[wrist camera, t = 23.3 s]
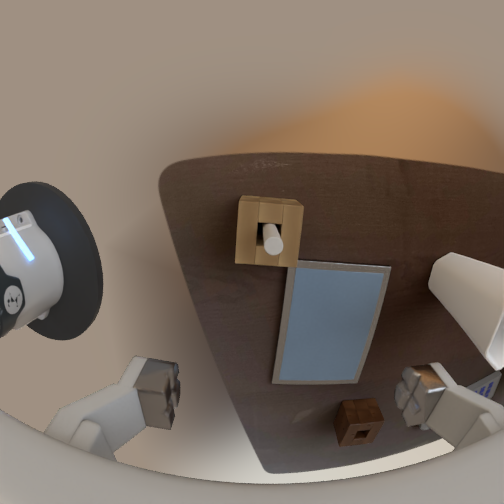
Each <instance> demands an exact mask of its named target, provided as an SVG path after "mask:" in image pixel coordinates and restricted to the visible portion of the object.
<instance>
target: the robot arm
mask: <svg viewBox="0 0 504 504" xmlns="http://www.w3.org/2000/svg"><path fill="white" fill-rule="evenodd" d="M63 285H64V277H63V269H62V265H61V261H60V258H59V255H58V253H57V251H56V249H55V247H54V245H53V243H52V242H51V240H50V239H49V237H48V236H47V235H46V234H45V233H44V232H43V231H42V230H41V229H40V228H39V227H38V225H37V223H36V221H35V219H34V217H33V215H32V213H31V212H30V211H29V210H25V211H22V212H19V213H17V214H14V215H11V216H8V217H5V218H3V219H0V338H1V337H3V336H5V335H6V334H7V333H8V332H9V331H10V330H11V329H15V330H19V329H21V328H22V327H24V326H25V325H27V324H28V323H30V322H32V321H33V320H35V319H36V318H38V319H41V320H43V319H45V318H46V317H47V316H48V314H49V310H50V308H51V307H52V306H53V305H55V304H56V303H57V302H58V301H59V299H60V297H61V295H62V292H63ZM178 373H179V369H178V364H177V363H174V362H169V361H162V360H157V359H152V358H145V357H140V356H134V357H133V358H132V360H131V361H130V363H129V365H128V366H127V368H126V370H125V371H124V373H123V375H122V377H121V378H120V380H119V382H118V384H112V385H109V386H108V387H105V388H103V389H101V390H99V391H97V392H95V393H93V394H90V395H88V396H86V397H84V398H82V399H80V400H78V401H76V402H74V403H71V404H69V405H67V406H64V407H62V408H60V409H59V410H58V412H57V413H56V415H55V416H54V418H53V419H52V421H51V422H50V424H49V425H48V427H47V428H46V430H45V431H44V433H42V432H40V431H38V430H36V429H34V428H32V427H30V426H29V425H26V424H25V423H23V422H21V421H19V420H18V419H16V418H14V417H12V416H11V415H9V414H7V413H5V412H4V411H2V410H1V409H0V504H504V408H503V406H502V405H500V404H498V403H496V402H494V401H492V400H490V399H488V398H486V397H484V396H482V395H480V394H477V393H475V392H473V391H471V390H469V389H467V388H465V387H463V386H461V385H459V386H458V385H457V384H456V383H455V382H454V380H453V379H452V378H451V376H450V375H449V374H448V373H447V371H446V370H445V369H444V368H443V366H442V365H441V364H440V363H438V362H436V363H430V364H425V365H418V366H410V367H406V368H405V369H404V370H403V373H402V375H401V376H402V380H401V381H400V382H399V383H398V384H397V386H396V389H395V392H394V400H395V403H396V405H397V407H398V408H400V409H401V410H403V411H402V414H401V415H402V417H403V419H404V421H405V423H406V425H407V427H408V426H413V425H418V424H423V423H425V425H427V426H428V427H429V428H430V429H432V430H433V431H434V432H435V433H437V434H438V435H439V436H441V437H442V438H443V439H444V440H446V441H447V442H448V443H450V444H451V445H452V446H454V447H455V449H454V450H453V451H452V452H450V453H447V454H444V455H441V456H438V457H435V458H432V459H430V460H426V461H423V462H420V463H416V464H413V465H409V466H406V467H401V468H398V469H393V470H389V471H385V472H380V473H375V474H370V475H365V476H359V477H353V478H346V479H340V480H331V481H321V482H310V483H292V484H251V483H231V482H220V481H210V480H202V479H195V478H188V477H181V476H176V475H171V474H165V473H160V472H156V471H151V470H147V469H142V468H138V467H135V466H131V465H127V464H124V463H120V462H117V460H116V458H115V456H114V454H113V452H115V451H116V450H117V449H119V448H120V447H121V446H123V445H124V444H125V443H127V442H128V441H129V440H130V439H132V438H133V437H134V436H135V435H137V434H138V433H139V432H141V431H142V430H143V429H144V428H146V426H150V427H156V428H162V429H168V430H171V427H172V423H173V420H174V417H175V414H174V409H175V408H176V407H177V406H178V403H179V398H180V381H179V380H178V379H177V376H178Z"/></svg>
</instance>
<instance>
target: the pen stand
mask: <svg viewBox="0 0 504 504" xmlns="http://www.w3.org/2000/svg"><path fill="white" fill-rule="evenodd" d="M383 423H384V418H383V416H382V414H381V411H380V409H379V407H378V404H377V402H376V400H375V398H370V399H359V400H345V401H342V403H341V405H340V408H339V410H338V413H337V415H336V418H335V420H334V423H333V424H334V428H335V432H336V436H337V440H338V444H339V447H342V446H352V445H360V444H367V443H372V442H373V440H374V439H375V437H376V435H377V434H378V432H379V430H380V429H381V427H382V425H383Z"/></svg>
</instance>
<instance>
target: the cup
mask: <svg viewBox="0 0 504 504" xmlns="http://www.w3.org/2000/svg"><path fill="white" fill-rule="evenodd" d="M428 286H429V289H430V290H431V292H432V293H433V294H434V295H435V296H436V297H437V298H438V300H439V301H440V302H441V303H442V304H443V305H444V307H445V308H446V309H447V310H448V311H449V313H450V314H451V315H452V316H453V317H454V319H455V320H456V321H457V322H458V324H459V325H460V326H461V327H462V329H463V330H464V331H465V332H466V334H467V335H468V336H469V338H470V339H471V340H472V342H473V343H474V344H475V345H476V347H477V348H478V349H479V351H480V352H481V354H482V355H483V356H484V358H485V359H486V360H487V361H488V362H489V363H490V365H491V366H492V367H493V368H494V369H495V371H497V370H500V369H502V368H503V367H504V269H502V268H499V267H496V266H493V265H490V264H487V263H484V262H481V261H478V260H475V259H472V258H469V257H465V256H462V255H459V254H456V253H449V254H447V255H445V256H443V257H442V258H440V259H438V260H436V262H435V263H434V265H433V267H432V271H431V275H430V279H429V282H428Z"/></svg>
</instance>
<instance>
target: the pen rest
mask: <svg viewBox="0 0 504 504" xmlns="http://www.w3.org/2000/svg"><path fill="white" fill-rule="evenodd" d="M303 210H304V206H303V205H301V204H300V203H299V202H298V201H297V200H293V199H282V198H280V199H279V198H270V197H258V196H245V195H242V197H241V198H240V200H239V206H238V221H237V237H236V253H235V263H240V264H253V265H254V264H255V265H268V266H281V267H295V268H296V267H297V262H298V254H299V246H300V237H301V228H302V219H303ZM258 222H260V223H273V224H277V230H278V233H279V235H280V237H281V240H282V242H283V250H282V251H281V253H279V254H278V255H269V254H268V253H267V252H266V251H265V249H264V240H263V233H257V226H258Z"/></svg>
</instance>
